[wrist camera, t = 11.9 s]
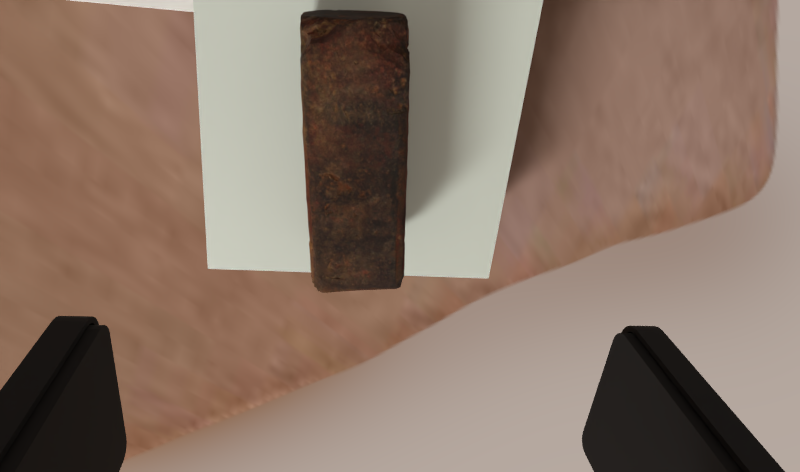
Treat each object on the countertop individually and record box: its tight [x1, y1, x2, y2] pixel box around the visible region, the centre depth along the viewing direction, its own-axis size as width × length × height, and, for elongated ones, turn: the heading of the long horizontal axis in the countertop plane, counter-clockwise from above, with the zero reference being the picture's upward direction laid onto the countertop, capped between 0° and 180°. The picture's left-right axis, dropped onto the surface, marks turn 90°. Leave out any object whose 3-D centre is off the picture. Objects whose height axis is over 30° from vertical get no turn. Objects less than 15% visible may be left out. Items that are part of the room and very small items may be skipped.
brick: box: [300, 10, 410, 293], centre depth 23 cm, size 11×4×5 cm, turn 179°
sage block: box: [193, 0, 543, 278], centre depth 28 cm, size 14×14×6 cm
